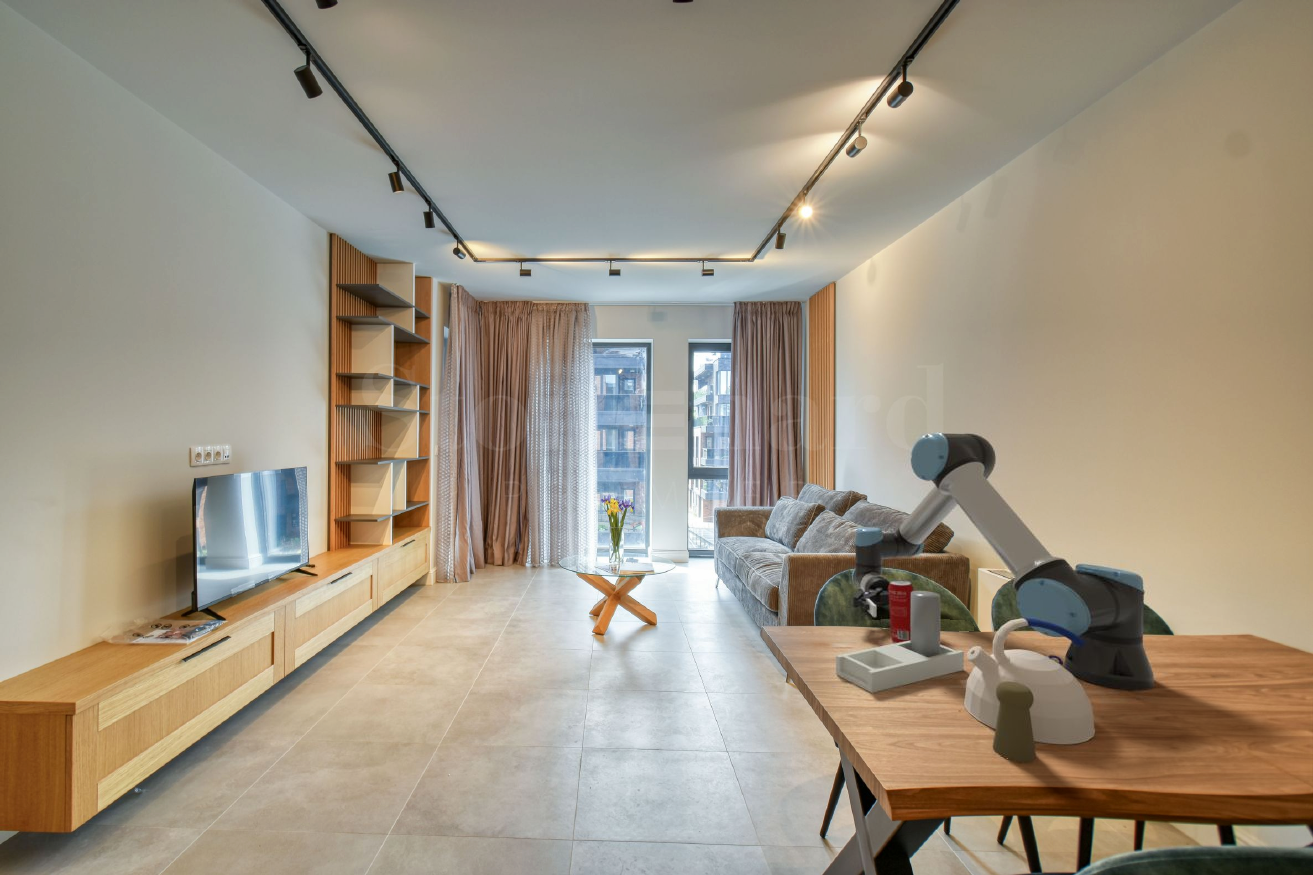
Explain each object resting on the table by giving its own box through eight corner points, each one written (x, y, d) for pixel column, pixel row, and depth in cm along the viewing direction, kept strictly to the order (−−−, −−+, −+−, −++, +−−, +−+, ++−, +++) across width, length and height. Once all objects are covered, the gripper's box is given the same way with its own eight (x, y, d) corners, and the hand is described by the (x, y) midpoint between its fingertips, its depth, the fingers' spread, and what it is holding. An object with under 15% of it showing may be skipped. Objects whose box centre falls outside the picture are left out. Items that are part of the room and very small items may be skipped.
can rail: (925, 654, 138) (925, 586, 137) (963, 669, 129) (964, 596, 128) (836, 674, 126) (836, 599, 126) (871, 692, 117) (872, 612, 117)
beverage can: (920, 646, 142) (921, 585, 142) (893, 646, 142) (894, 584, 142) (910, 638, 148) (910, 578, 148) (884, 638, 148) (884, 578, 148)
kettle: (943, 690, 118) (944, 601, 118) (1050, 693, 117) (1051, 603, 117) (996, 743, 98) (997, 636, 98) (1125, 748, 97) (1126, 639, 97)
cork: (984, 742, 98) (984, 677, 98) (1018, 741, 99) (1019, 676, 99) (1009, 763, 92) (1009, 693, 92) (1045, 761, 93) (1046, 692, 93)
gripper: (923, 604, 164) (956, 629, 143) (832, 601, 166) (851, 625, 145) (923, 577, 164) (956, 598, 143) (832, 575, 166) (851, 595, 145)
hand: (903, 612), depth 144 cm, fingers open, 13 cm apart
